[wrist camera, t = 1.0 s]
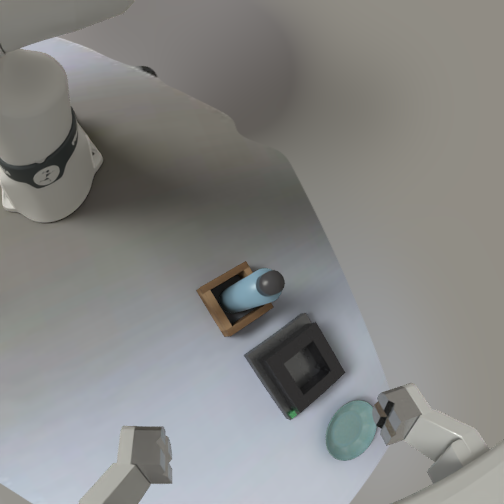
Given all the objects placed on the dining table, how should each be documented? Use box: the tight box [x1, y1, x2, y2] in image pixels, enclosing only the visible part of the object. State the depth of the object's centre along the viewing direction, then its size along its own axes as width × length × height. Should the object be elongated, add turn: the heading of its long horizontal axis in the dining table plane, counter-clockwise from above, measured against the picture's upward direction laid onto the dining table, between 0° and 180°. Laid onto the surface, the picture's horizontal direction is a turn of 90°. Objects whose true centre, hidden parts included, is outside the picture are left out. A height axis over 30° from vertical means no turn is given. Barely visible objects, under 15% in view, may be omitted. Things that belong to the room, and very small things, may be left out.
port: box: [244, 313, 345, 420], centre depth 45 cm, size 13×12×4 cm
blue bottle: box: [219, 268, 285, 314], centre depth 40 cm, size 4×4×15 cm
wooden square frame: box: [196, 261, 273, 337], centre depth 46 cm, size 8×8×3 cm
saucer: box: [326, 400, 377, 461], centre depth 47 cm, size 12×12×2 cm
